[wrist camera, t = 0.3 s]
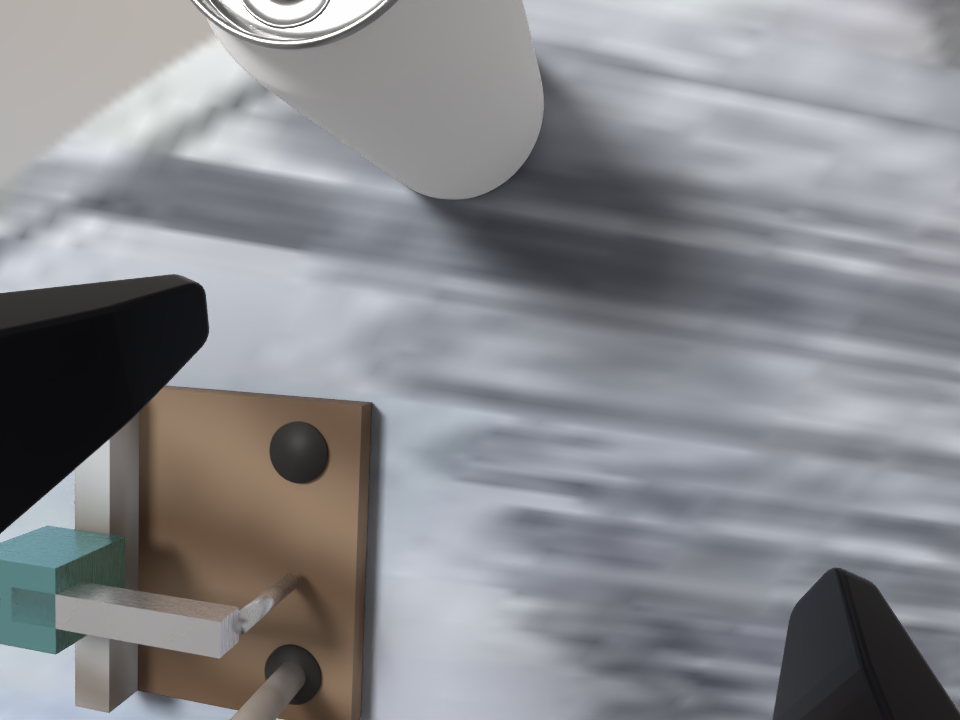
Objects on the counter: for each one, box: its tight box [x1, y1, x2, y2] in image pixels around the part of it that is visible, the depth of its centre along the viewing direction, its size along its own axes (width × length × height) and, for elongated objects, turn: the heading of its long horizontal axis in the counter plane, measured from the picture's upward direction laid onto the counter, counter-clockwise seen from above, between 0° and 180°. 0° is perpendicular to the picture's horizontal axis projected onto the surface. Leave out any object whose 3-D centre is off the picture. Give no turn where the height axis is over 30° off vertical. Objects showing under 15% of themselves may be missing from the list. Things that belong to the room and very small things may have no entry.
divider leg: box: [0, 526, 298, 659], centre depth 22 cm, size 3×10×4 cm, turn 87°
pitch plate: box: [75, 386, 372, 720], centre depth 23 cm, size 13×12×4 cm
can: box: [191, 0, 544, 199], centre depth 16 cm, size 6×6×12 cm
